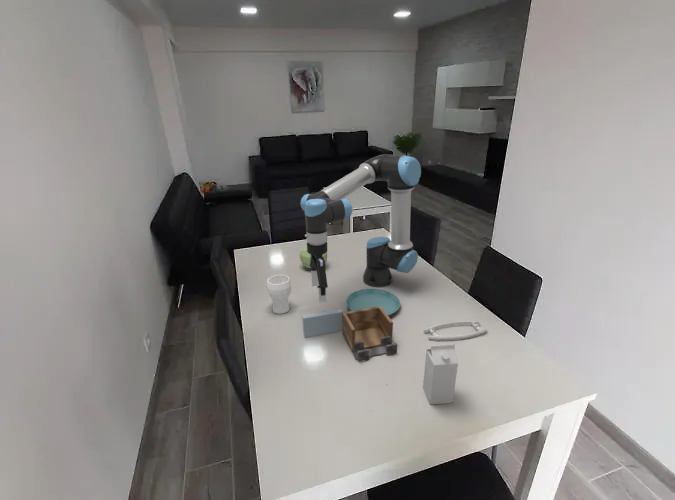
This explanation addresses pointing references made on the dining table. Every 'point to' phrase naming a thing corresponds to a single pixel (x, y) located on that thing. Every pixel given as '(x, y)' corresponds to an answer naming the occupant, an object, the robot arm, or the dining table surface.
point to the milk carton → (440, 373)
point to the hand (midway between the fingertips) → (318, 293)
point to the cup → (279, 292)
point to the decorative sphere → (308, 257)
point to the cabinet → (368, 333)
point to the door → (322, 323)
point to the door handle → (458, 337)
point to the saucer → (373, 300)
